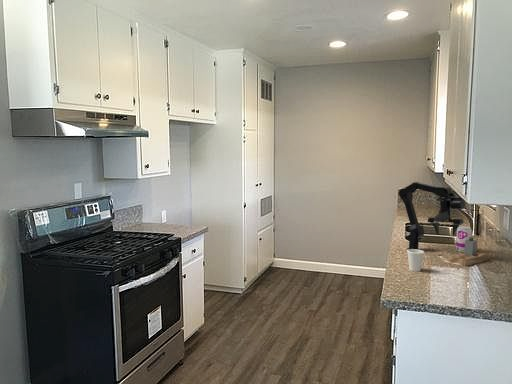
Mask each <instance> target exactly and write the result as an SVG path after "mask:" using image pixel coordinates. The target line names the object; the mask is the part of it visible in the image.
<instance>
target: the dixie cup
mask: <svg viewBox="0 0 512 384" xmlns="http://www.w3.org/2000/svg"><path fill="white" fill-rule="evenodd" d="M406 251H407V259H408V270H409V271H410V272H411V271H413V272H420V271H421V270H422V266H423V259H424V254H425V251H424V250H423V249H422V250H421V249H420V250H417V249H410V250H408V249H407V250H406Z"/></svg>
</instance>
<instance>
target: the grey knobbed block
mask: <svg viewBox="0 0 512 384" xmlns="http://www.w3.org/2000/svg"><path fill="white" fill-rule="evenodd" d="M477 250H478V240H474V237H473V236H471V237H469V240H465V252H464V254H466V255H471V256H476V255H477V254H478V253H477V252H478V251H477Z"/></svg>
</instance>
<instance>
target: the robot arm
mask: <svg viewBox="0 0 512 384" xmlns="http://www.w3.org/2000/svg"><path fill="white" fill-rule="evenodd" d="M417 190H419V191H423V192H428V193H432V194H434V195H436V196H438V197H437V199H435V201H437V202H438V201H439V210H438V213H437V214H436V215H435V216H431V217H430V216H429V217H428V218H427V223H430V224H431V225H432V226H433V227H434V230H435V233H436V235H438V236H439V233H440V223H452V224H451V225H452V236H453V237H454V236H455V234H456V233H457V228H458V227H459V226H462V225H463V224H464V223H465V222H464V219H463V218H460V217H459V218H458V217H456V218H453V217H452V216H451V215H452V214H451V213H452V210H464V209H465V208H466V202H465V200H464V198H463V199H462V198H461V197H462V196H461V197H456V196H455V194H454V193H453V191H452V189H451V188H450V187H449V186H435V185H431V184H426V183H421V182H418V181H414V182H412V183H411V184H409V185H407V186H405V187H404V188H401V189H399V191H398V196H399V198H400V200H401V201H402V202H403V204H404V207H405V210H406V214H407V217H408V221H409V225H410V226H409V234H408V235H407V236H406V237H405V238H406V241H408V247H406V249H407V250H410V249H417V250H421V249H420V248H419V244H420V241H421V239H422V238H423V237H424V235H425V232H426V231H425V230H424V225H421V224H420V223H419V221H418V220H419V219H418V217H417V213H416V210H415V207H414V202H413V199H414V192H416V191H417Z"/></svg>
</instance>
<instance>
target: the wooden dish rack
mask: <svg viewBox="0 0 512 384" xmlns="http://www.w3.org/2000/svg"><path fill="white" fill-rule="evenodd" d="M485 261H489V253H480V254H479V253H477V255H476V256H471V255H466V254H465V253H463V252H459V253H457V254H456V253H454V254H453V256H451V255H446V258H445V259H442V260H441V261H440V262H446V263H450V264H454V265H458V266H461V267H468V266H471V265H475V264H479V263H482V262H485Z"/></svg>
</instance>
